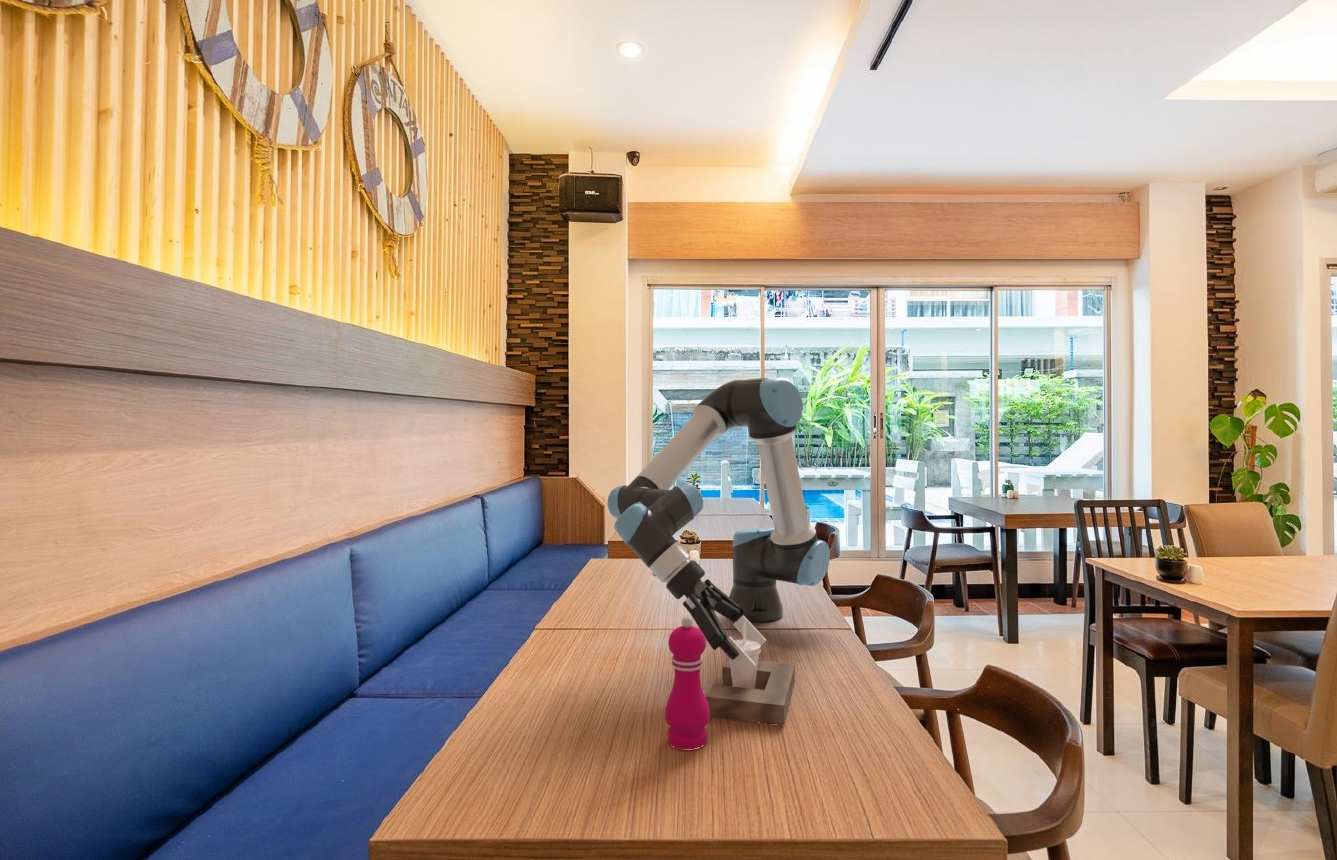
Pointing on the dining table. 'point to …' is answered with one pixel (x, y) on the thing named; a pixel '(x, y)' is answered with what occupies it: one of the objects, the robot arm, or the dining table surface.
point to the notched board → (755, 695)
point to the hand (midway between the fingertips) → (756, 657)
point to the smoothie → (753, 652)
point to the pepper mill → (687, 689)
